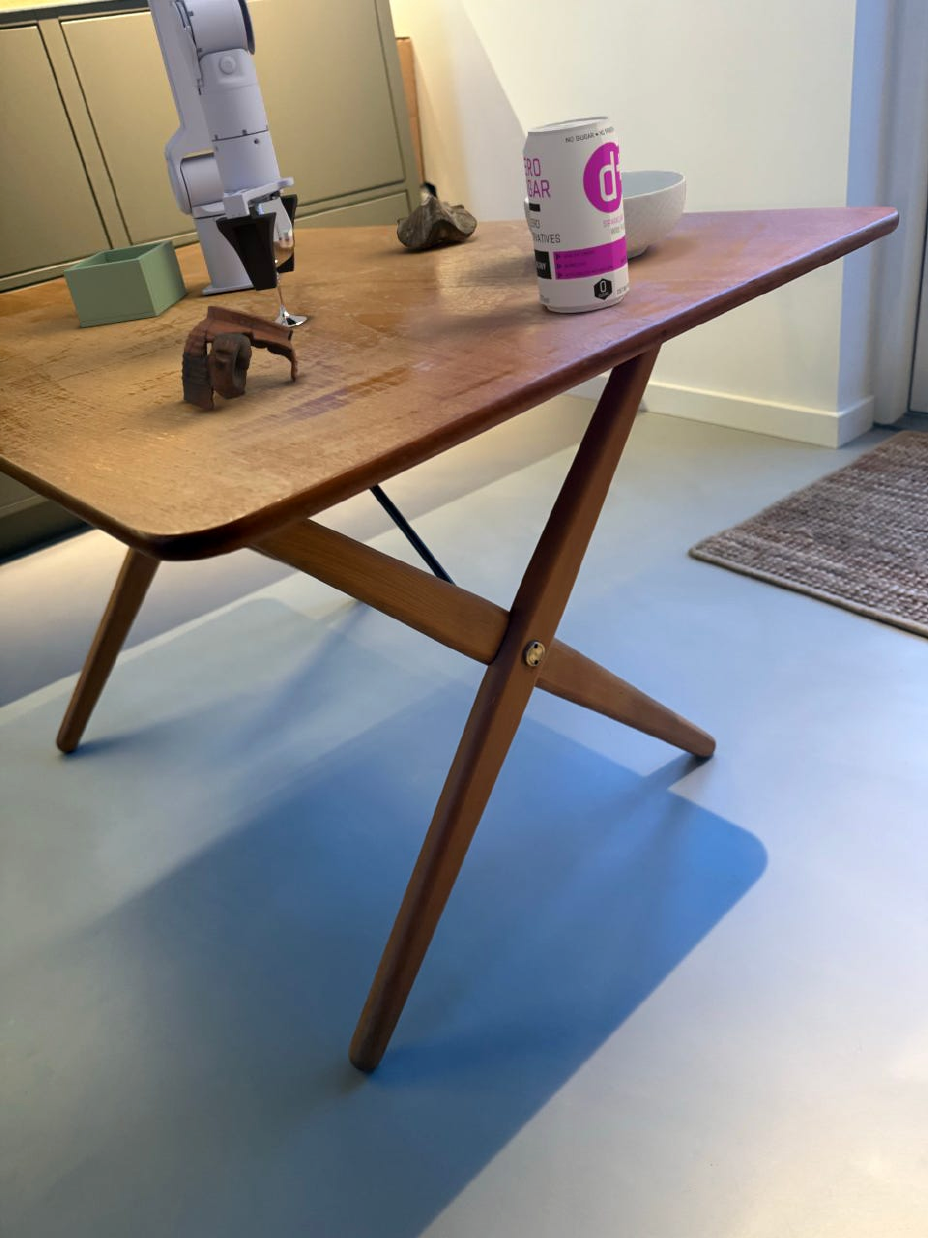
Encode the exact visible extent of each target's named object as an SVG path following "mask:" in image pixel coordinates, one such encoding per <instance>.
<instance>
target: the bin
mask: <svg viewBox="0 0 928 1238" xmlns="http://www.w3.org/2000/svg"><path fill="white" fill-rule="evenodd" d="M62 274H63V277H64V280H65V283H66V286H67V288H68V291H69V294H70V297H71V300H72V303H73V306H74V309H75V311H76V315H77V317H78V320H79V322H80V323H79V324H80V326H81V328H88V327H89V328H90V327H94V326H101V325H109V324H113V323H116V324H117V323H122V322H129V321H134V320H135V321H136V320H142V319H148V318H155V317H158V316H159V315H161V314H162V313H163V312H164V311H166V310H167V309H169V308H170V307H171V306H173V305H174V304H175V303H177V302H178V301H180V299H182V298H183V297H184V296H186V295H187V294H188V290H187V288H186V284H185V282H184V277H183V274H182V270H181V267H180V264H179V261H178V257H177V254H176V249H175V246H174V244H173V240H171V239H170V240H169V239H168V240H164V241H157V242H150V243H145V244H139V245H131V246H127V247H126V246H125V247H120V248H114V249H107V250H101V251H99V252H97V253H95V254H93V255H91V256H89V257H86V258H85V259H83V260H81V261H79V262H78V263H75V264H74V265H72V266H70V267H68V268H66V269H65V270H63V271H62Z"/></svg>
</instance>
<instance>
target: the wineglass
mask: <svg viewBox="0 0 928 1238" xmlns="http://www.w3.org/2000/svg"><path fill="white" fill-rule="evenodd" d="M265 199H266V201H265V202H263V203H260V204H255V205H253V206H254V207H255V211H256V212H259V215H260V214H266V213H272V212H276V213H277V215H276V220H275V225H274V255H275V263H276V268H277V267H278V266H280V265H282V264H283V263H284V262H286V261H287V260H288V259H289V258H290V257H291V255H292V254H293V251H294V252H295V246H296V239H295V238H296V237H295V232H294V231H293V228H292V225H291V222H290V219H289V216H288V214H287V212H286V210H285V207H284V205H283V203H282V201H281V199H280V197H266V198H265ZM274 291H275V293H276V296H277V300H278V304H279V305H278V306H279V315H278V316H277V318H275V319H274V320H273V321H274V322H277V323H279V324H283V325H285V326H287V327H289V328H292V327H296V326H299V325H301V324H303V323H305V322H307V320H308V317H306V316H304V315H293V314H290V313H289V312H288V311H287V308H286V307H285V303H284V298H283V295H282V289H281V277H280V274H279V273H278V272H277V287H276V288H274Z"/></svg>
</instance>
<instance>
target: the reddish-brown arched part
mask: <svg viewBox="0 0 928 1238" xmlns="http://www.w3.org/2000/svg"><path fill="white" fill-rule="evenodd" d="M293 334H294V329H292V328H291V327H287V326H285V325H283V324H279V323H277V322H274V320H272V319H269V318H267V317H266V318H265V317H264V316H263V317H262V316H259V315H256V314H252V313H251V314H250V313H249V312H246V311H242V310H239V309H235V308H230V307H228V306H227V307H226V306H222V305H207V312H206V317H205V319H203V320H201V321H199V323H197V325H195V326H194V327H192V330H191V331H190V332H189V333H188V336H187V338H186V339H185V340H184V341H185V345H184V347H183V352H182V355H181V357H182V361H181V366H182V367H181V377H180V378H181V381H182V382H181V384H182V392H183V401H185V402H186V403H187V404H190V405H192V406H194V407H199V408H201V409H206V410H210V411H213V410H215V401H214V400H215V399H214V395H215V394H214V393H216V394H217V395H218V396H220V397H221V398H223V399H226V400H233V399H236V398H239V397H241V396H245V395H246V387H247V382H248V381H247V377H248V370H249V369H250V366H251V359H252V356H253V350H252V348H255V349H259V350H264V349H266V350H267V352H268V353H270V354H272V355H278V356H281V357H284V358H285V359H287V360H288V361H289V362H290V367H291V368H290V379H291V380H292V381H293V382H296V380H297V379H298V372H299V368H298V365H299V361H298V359H297V352H296V350H295V348H294V347H293V344H292V342H291V341H292V337H293ZM208 344H210V350H209V353H208Z"/></svg>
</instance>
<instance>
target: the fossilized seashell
mask: <svg viewBox="0 0 928 1238" xmlns="http://www.w3.org/2000/svg"><path fill="white" fill-rule="evenodd" d="M396 222H397V223H398V226H397V229H396V235H397V240H398V241H399V243H401V244H402V245H404V246H405V247H406V248H407V249H414V250H421V249H427V248H430V247H432V246H434V245H435V244H438V242H440V241H442V242H448V243H455V242H460V241H463V240H466V239H468V238H470V237H471V236H472V235H473V234H474V232H475V231H476V228H477V226H478V221H477V219H476V217H475V216H474V215H473V214H471V213H470V212H469V211H468V210H466V209H465V206H464V204H463V203H462V204H457V205H451V204H450V203H449V202H448V201H445V200H444V201H442V200H440V199H439V198H438V197H436V196H434V195H433V194H430V195H428V196H427V198H426V199H425V200H423V201H422V202H421V203H420V204H419V205H418V206H417V207H416V208H415V209H414V210H413V211H412V212H411V213H410V214H409V215H407V216H404V217H400V218H398V219H397V220H396Z"/></svg>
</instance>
